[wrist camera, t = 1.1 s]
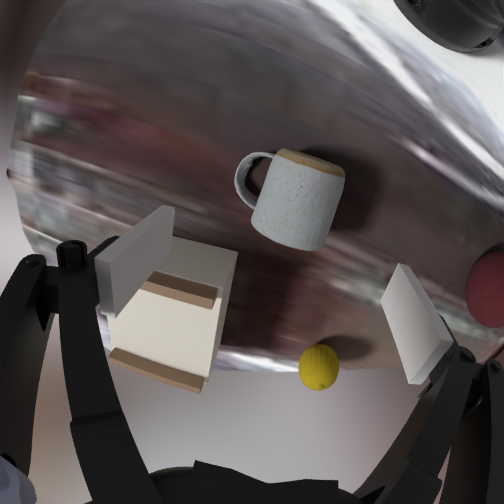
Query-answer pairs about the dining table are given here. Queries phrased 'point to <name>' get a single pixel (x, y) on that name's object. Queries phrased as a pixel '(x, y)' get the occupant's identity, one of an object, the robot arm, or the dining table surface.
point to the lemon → (318, 367)
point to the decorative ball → (487, 290)
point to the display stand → (176, 316)
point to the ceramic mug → (294, 198)
